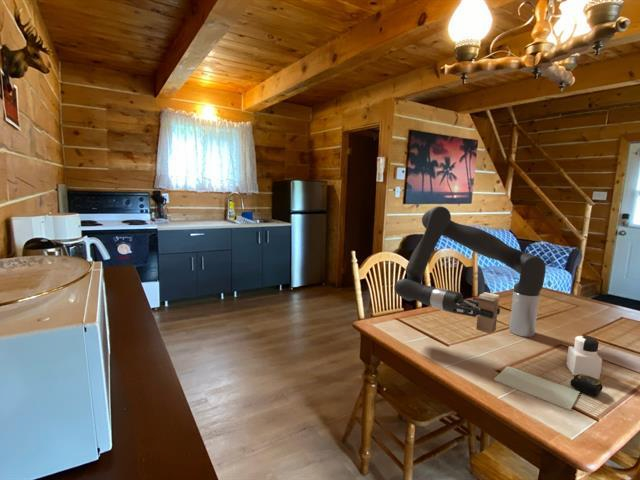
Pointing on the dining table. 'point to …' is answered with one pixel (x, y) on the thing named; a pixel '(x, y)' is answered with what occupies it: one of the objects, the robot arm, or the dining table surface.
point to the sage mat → (538, 387)
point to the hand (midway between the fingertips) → (496, 313)
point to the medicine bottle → (584, 357)
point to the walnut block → (491, 304)
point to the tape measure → (586, 384)
